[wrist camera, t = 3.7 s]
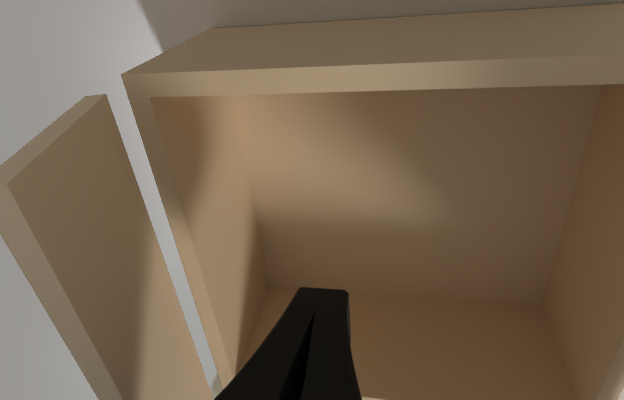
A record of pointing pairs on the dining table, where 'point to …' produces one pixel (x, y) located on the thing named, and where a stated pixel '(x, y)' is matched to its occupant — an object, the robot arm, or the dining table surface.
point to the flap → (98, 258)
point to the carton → (406, 193)
